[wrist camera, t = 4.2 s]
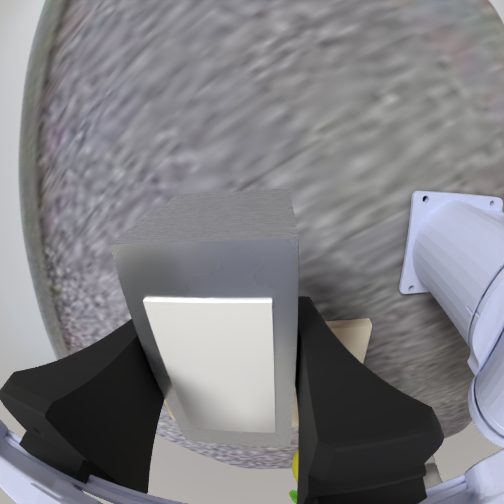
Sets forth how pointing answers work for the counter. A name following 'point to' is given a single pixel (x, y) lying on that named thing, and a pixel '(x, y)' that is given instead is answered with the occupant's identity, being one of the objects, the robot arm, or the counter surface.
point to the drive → (218, 311)
